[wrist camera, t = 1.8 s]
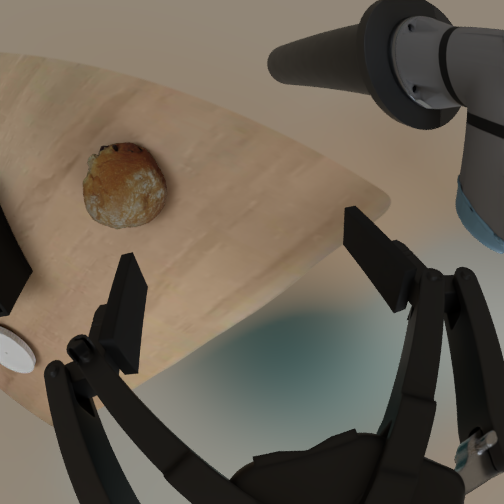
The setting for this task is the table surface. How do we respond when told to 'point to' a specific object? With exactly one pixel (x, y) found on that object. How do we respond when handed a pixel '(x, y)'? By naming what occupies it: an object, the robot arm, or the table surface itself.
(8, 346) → the plastic lid
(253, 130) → the table surface
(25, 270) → the black storage bin
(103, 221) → the bread roll
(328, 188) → the table surface
